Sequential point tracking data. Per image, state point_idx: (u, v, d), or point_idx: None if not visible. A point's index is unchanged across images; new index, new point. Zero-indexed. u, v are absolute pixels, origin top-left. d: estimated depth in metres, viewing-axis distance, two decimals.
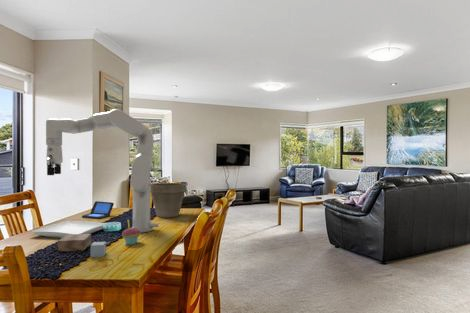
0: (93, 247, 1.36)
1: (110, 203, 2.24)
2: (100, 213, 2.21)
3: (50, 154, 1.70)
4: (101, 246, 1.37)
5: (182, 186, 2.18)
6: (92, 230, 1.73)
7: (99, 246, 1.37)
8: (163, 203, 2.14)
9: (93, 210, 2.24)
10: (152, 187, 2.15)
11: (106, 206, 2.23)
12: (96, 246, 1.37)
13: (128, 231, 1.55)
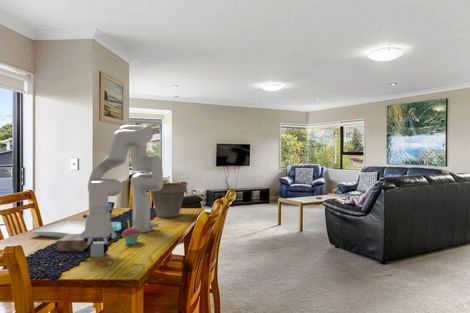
0: (93, 247, 1.36)
1: (111, 203, 2.25)
2: None
3: (110, 224, 1.40)
4: (101, 246, 1.37)
5: (182, 186, 2.18)
6: None
7: (99, 246, 1.37)
8: (163, 203, 2.14)
9: None
10: None
11: None
12: (96, 246, 1.37)
13: (128, 231, 1.55)
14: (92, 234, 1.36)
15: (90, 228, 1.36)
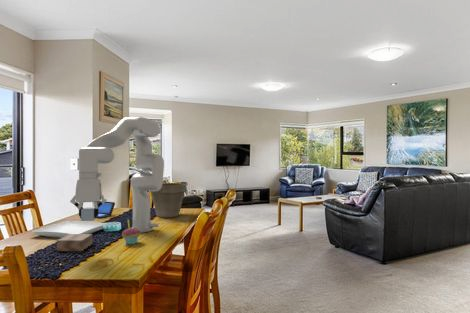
0: (83, 211, 1.41)
1: (111, 203, 2.25)
2: (102, 213, 2.23)
3: (100, 190, 1.44)
4: (91, 210, 1.41)
5: (182, 186, 2.18)
6: (92, 230, 1.73)
7: (89, 210, 1.41)
8: (163, 203, 2.14)
9: None
10: None
11: (107, 206, 2.25)
12: (86, 210, 1.41)
13: (128, 231, 1.55)
14: (82, 199, 1.41)
15: (81, 193, 1.40)
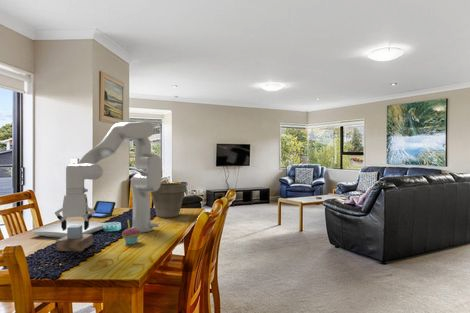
0: (69, 229, 1.47)
1: (112, 202, 2.26)
2: (102, 212, 2.23)
3: (86, 205, 1.50)
4: (77, 228, 1.47)
5: (182, 186, 2.18)
6: (92, 230, 1.73)
7: (75, 228, 1.47)
8: (163, 203, 2.14)
9: (95, 209, 2.26)
10: None
11: (108, 205, 2.25)
12: (72, 228, 1.47)
13: (128, 231, 1.55)
14: (69, 213, 1.47)
15: (67, 208, 1.47)
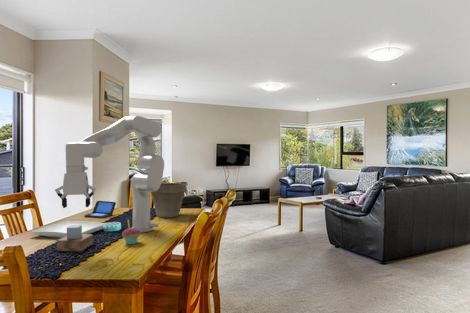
0: (69, 229, 1.47)
1: (112, 202, 2.26)
2: (102, 212, 2.23)
3: (87, 183, 1.50)
4: (77, 228, 1.47)
5: (182, 186, 2.18)
6: (92, 230, 1.73)
7: (75, 228, 1.47)
8: (163, 203, 2.14)
9: (95, 209, 2.26)
10: None
11: (108, 205, 2.26)
12: (72, 228, 1.47)
13: (128, 231, 1.55)
14: (70, 191, 1.47)
15: (68, 186, 1.47)
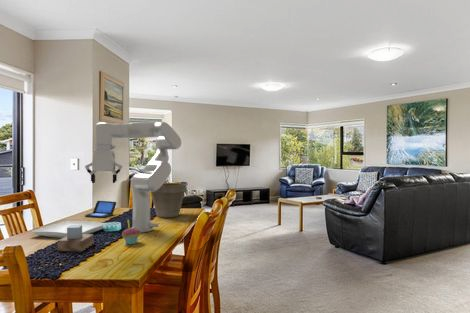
0: (69, 229, 1.47)
1: (113, 202, 2.27)
2: (103, 212, 2.24)
3: (114, 161, 1.62)
4: (77, 228, 1.47)
5: (182, 186, 2.18)
6: (92, 230, 1.73)
7: (75, 228, 1.47)
8: (163, 203, 2.14)
9: (96, 209, 2.27)
10: None
11: (109, 205, 2.26)
12: (72, 228, 1.47)
13: (128, 231, 1.55)
14: (98, 168, 1.59)
15: (97, 163, 1.59)
